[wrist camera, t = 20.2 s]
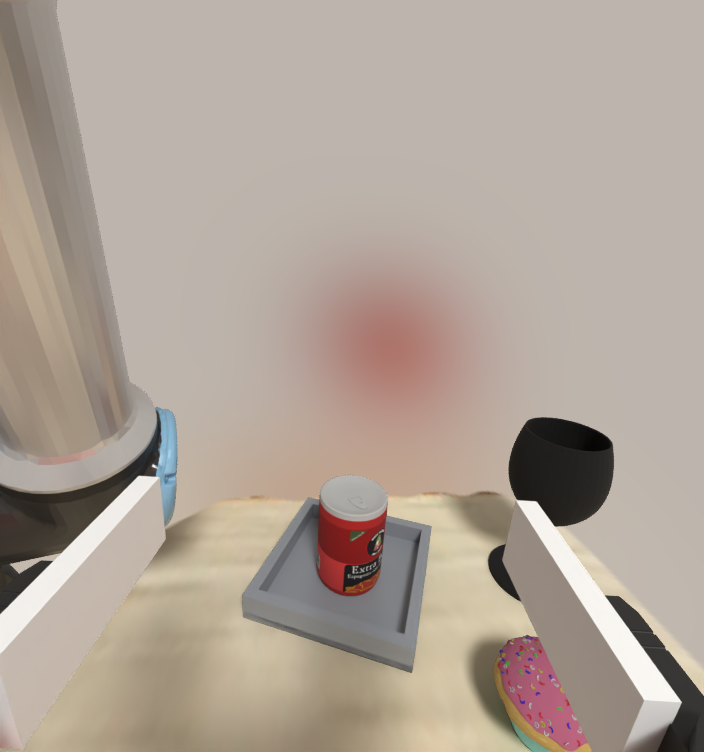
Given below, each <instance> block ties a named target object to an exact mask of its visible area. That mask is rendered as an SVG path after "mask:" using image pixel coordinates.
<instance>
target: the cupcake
mask: <svg viewBox="0 0 704 752" xmlns="http://www.w3.org/2000/svg"><path fill="white" fill-rule="evenodd" d="M526 636H527V637H526ZM526 636H523V637H519V638H514V639H512V640H509V641H508V642H507V644H506V646H505V647H504V648H503V649H502V650H500V654H499V655H498V657H497V659H496V661H495V664H494V680H495V683H496V686H497V690H498V692H499V695H500V697H501V698H502V700H503V702H504V704H505V707H506V711H507V714H508V716H509V717H510V719H511V722H512V725H513V727H514V730H515V732H516V733H517V735H518V737H519V738H520V739H521V741H522V742H523V743H524V744H525V745H526V746H527V747H528V748H529V749H530V750H531V751H533V752H592V750H591V748H590V746H589V744H588V742H587V740H586V738H585V735H584V733H583V731H582V729H581V727H580V725H579V723H578V721H577V718H576V716H575V714H574V712H573V710H572V708H571V706H570V704H569V701H568V699H567V697H566V695H565V693H564V691H563V689H562V687H561V684H560V682H559V680H558V678H557V676H556V674H555V672H554V670H553V667H552V665H551V663H550V661H549V659H548V657H547V655H546V653H545V650H544V648H543V646H542V644H541V642H540V640H539V638H538V637H530V636H529V635H526Z"/></svg>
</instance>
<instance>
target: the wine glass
mask: <svg viewBox="0 0 704 752" xmlns="http://www.w3.org/2000/svg"><path fill="white" fill-rule="evenodd" d="M613 469H614V453H613V444H612V442H611V441H610V439H609V438H608V437H606V436H605V435H604V434H602V433H600V432H599V431H597V430H595V429H592V428H590V427H588V426H585V425H582V424H579V423H576V422H572V421H567V420H563V419H557V418H546V417H545V418H544V417H541V418H533V419H530V420H528V421H527V422H526V424H525V425H524V427H523V428H522V430H521V431H520V433H519V435H518V437H517V439H516V441H515V443H514V446H513V448H512V452H511V456H510V461H509V479H510V484H511V488H512V490H513V492H514V495H515V497H516V499H517V500H521V501H536V502H537V503H538V504H539V506H540V507H541V508H542V510H543V511H544V513H545V514H546V515H547V517H548V518H549V519H550V521H551V522H552V524H553V525H554V526H556V527H557V526H568V525H572V524H576V523H579V522H581V521H584V520H586V519H587V518H589V517H590V516H592V515H593V514H594V513H596V512H597V511H598V510H599V508H600V507H601V506H602V505H603V503H604V501H605V500H606V498H607V496H608V494H609V491H610V488H611V483H612V478H613ZM505 546H506V544H505V545H501V546H499V547H497V548H495V549H494V550H493V551H492V552H491V554H490V558H489V568H490V571H491V573H492V576H493V577H494V579H495V580H496V582H497V583H498V584H499V585H500V586H501V587H502V588H503V589H504V590H505V591H506V592H507V593H509V594H510V595H511V596H513V597H514V598H516V599H517V600H519V601H521V599H520V597H519V595H518V593H517V591H516V589H515V587H514V585H513V582H512V580H511V578H510V576H509V574H508V572H507V570H506V568H505V565H504V563H503V561H502V559H503V555H504V550H505Z"/></svg>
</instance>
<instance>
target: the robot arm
mask: <svg viewBox="0 0 704 752" xmlns="http://www.w3.org/2000/svg"><path fill="white" fill-rule="evenodd" d="M56 7H57V0H0V748H12V749H23V748H24V747H25V745H26V744H27V742H28V741H29V739H30V738H31V736H32V735H33V733H34V732H35V730H36V729H37V727H38V726H39V724H40V723H41V722H42V720H43V719H44V717H45V716H46V714H47V713H48V711H49V710H50V708H51V707H52V705H53V704H54V702H55V701H56V700H57V698H58V697H59V695H60V694H61V692H62V691H63V689H64V688H65V686H66V685H67V683H68V682H69V680H70V679H71V678H72V676H73V675H74V673H75V672H76V670H77V669H78V667H79V666H80V664H81V663H82V661H83V660H84V658H85V657H86V655H87V654H88V653H89V651H90V650H91V648H92V647H93V645H94V644H95V642H96V641H97V639H98V638H99V636H100V635H101V633H102V632H103V631H104V629H105V628H106V626H107V625H108V623H109V622H110V620H111V619H112V617H113V616H114V614H115V613H116V611H117V610H118V609H119V607H120V606H121V604H122V603H123V601H124V600H125V598H126V597H127V595H128V594H129V592H130V591H131V589H132V588H133V586H134V585H135V584H136V582H137V581H138V579H139V578H140V576H141V575H142V573H143V572H144V570H145V569H146V567H147V566H148V564H149V563H150V562H151V560H152V559H153V557H154V556H155V554H156V553H157V551H158V550H159V548H160V547H161V545H162V544H163V542H164V541H165V540H166V535H165V526H166V525H167V524H168V523H169V522H170V520H171V518H172V516H173V512H174V507H175V499H176V472H177V471H176V470H177V469H176V468H177V431H176V421H175V416H174V414H173V412H172V411H170V410H168V409H161V408H158V407H156V408H155V407H154V405H153V402H152V400H151V399H150V397H149V396H148V395H147V394H146V393H145V392H144V391H143V390H142V389H140V388H139V387H137V386H136V385H134V384H132V383H130V382H129V377H128V372H127V367H126V362H125V357H124V352H123V347H122V342H121V336H120V331H119V327H118V321H117V317H116V311H115V306H114V301H113V296H112V291H111V286H110V281H109V276H108V271H107V266H106V261H105V256H104V251H103V246H102V241H101V235H100V230H99V226H98V220H97V215H96V210H95V205H94V200H93V195H92V190H91V185H90V180H89V175H88V170H87V164H86V160H85V154H84V150H83V144H82V140H81V134H80V129H79V124H78V119H77V114H76V109H75V104H74V99H73V94H72V89H71V84H70V78H69V73H68V68H67V64H66V58H65V53H64V48H63V44H62V38H61V33H60V28H59V23H58V18H57V13H56V9H57V8H56ZM58 553H61V554H60V555H59V556H58V557H57V558H56V559H55V560H54V561H40V562H38V563H37V564H35V565H33V566H32V567H30V568H28V569H27V570H25V571H23V572H22V573H20V574H19V573H18V572H17V571H16V570H15V569H14V568H13V567H12V566H10V564H11V563H16V562H20V561H25V560H30V559H35V558H39V557H44V556H49V555H54V554H58ZM502 561H503V563H504V565H505V568H506V570H507V572H508V574H509V576H510V578H511V580H512V582H513V585H514V587H515V589H516V591H517V593H518V595H519V597H520V599H521V602H522V604H523V606H524V608H525V610H526V612H527V614H528V616H529V619H530V621H531V623H532V625H533V627H534V629H535V631H536V633H537V636H538V638H539V640H540V642H541V644H542V646H543V648H544V650H545V653H546V655H547V657H548V659H549V661H550V663H551V665H552V667H553V670H554V672H555V674H556V676H557V678H558V680H559V682H560V684H561V687H562V689H563V691H564V693H565V695H566V697H567V699H568V701H569V704H570V706H571V708H572V710H573V712H574V714H575V716H576V718H577V721H578V723H579V725H580V727H581V729H582V731H583V733H584V735H585V738H586V740H587V742H588V744H589V746H590V748H591V750H592V752H704V696H703V694H702V693H701V692H700V691H699V689H698V688H697V687H696V685H695V684H694V683H693V682H692V680H691V679H690V678H689V677H688V675H687V674H686V673H685V671H684V670H683V669H682V668H681V666H680V665H679V664H678V663H677V661H676V660H675V659H674V657H673V656H672V655H671V654H670V652H669V651H666V649H665V646H664V645H663V643H662V642H661V641H660V640H659V638H658V637H657V636H656V635H654V634H653V631H652V629H651V628H650V627H649V626H648V624H647V623H646V622H645V620H644V619H643V618H642V617H641V615H640V614H639V613H638V612H637V611H636V610H635V609H633V608H632V607H631V606H630V605H629V604H627V603H626V602H625V601H624V600H623V599H622V598H620V597H619V596H606V595H604V594H603V593H602V591H601V590H600V589H599V587H598V586H597V584H596V583H595V582H594V580H593V579H592V578H591V576H590V575H589V573H588V572H587V571H586V569H585V568H584V566H583V565H582V564H581V562H580V561H579V560H578V558H577V557H576V555H575V554H574V553H573V551H572V550H571V548H570V547H569V546H568V544H567V543H566V542H565V540H564V539H563V537H562V536H561V535H560V533H559V532H558V531H557V529H556V528H555V526H554V525H553V524H552V522H551V521H550V519H549V518H548V517H547V515H546V514H545V513H544V511H543V510H542V508H541V507H540V506H539V504H538V503H537V502H536V501H521V500H516V502H515V506H514V510H513V515H512V519H511V524H510V528H509V533H508V537H507V542H506V546H505V550H504V555H503V559H502Z"/></svg>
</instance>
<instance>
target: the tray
mask: <svg viewBox="0 0 704 752" xmlns="http://www.w3.org/2000/svg"><path fill="white" fill-rule="evenodd" d="M318 520H319V500H318V499H313V498H309V497H308V498H307V500H306V501H305V503H304V504H303V506H302V507H301V509H300V510H299V512H298V513H297V515H296V516H295V518H294V519H293V521H292V522H291V524H290V525H289V527H288V528H287V530H286V531H285V533H284V534H283V536H282V537H281V539H280V540H279V542H278V543H277V545H276V546H275V548H274V549H273V550H272V552H271V553H270V555H269V556H268V558H267V559H266V561H265V562H264V564H263V565H262V567H261V568H260V570H259V571H258V573H257V574H256V576H255V577H254V579H253V580H252V582H251V583H250V585H249V586H248V588H247V589H246V591H245V592H244V594H243V595H242V596H243V617H244V618H247V619H250V620H253V621H256V622H259V623H262V624H265V625H268V626H271V627H274V628H277V629H280V630H283V631H286V632H289V633H292V634H296V635H299V636H302V637H305V638H308V639H311V640H314V641H317V642H320V643H323V644H326V645H329V646H332V647H335V648H338V649H341V650H344V651H347V652H350V653H353V654H356V655H359V656H362V657H365V658H368V659H371V660H374V661H377V662H380V663H383V664H386V665H389V666H392V667H395V668H398V669H401V670H404V671H407V672H410V673H412V669H413V663H414V656H415V649H416V642H417V634H418V626H419V619H420V611H421V603H422V596H423V588H424V580H425V573H426V565H427V557H428V549H429V542H430V534H431V526H429V525H424V524H420V523H416V522H411V521H407V520H403V519H399V518H394V517H390V516H387V517H386V526H385V534H384V543H383V552H382V561H381V570H380V575H379V578H378V580H377V582H376V584H375V585H374V587H373V588H372V589H371V590H370V591H368V592H366V593H365V594H362V595H359V596H343V595H339V594H337V593H334V592H333V591H331V590H329V589H328V588H327V587H326V586H325V585H324V584H323V582H322V581H321V579H320V577H319V574H318V570H317V546H318Z"/></svg>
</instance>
